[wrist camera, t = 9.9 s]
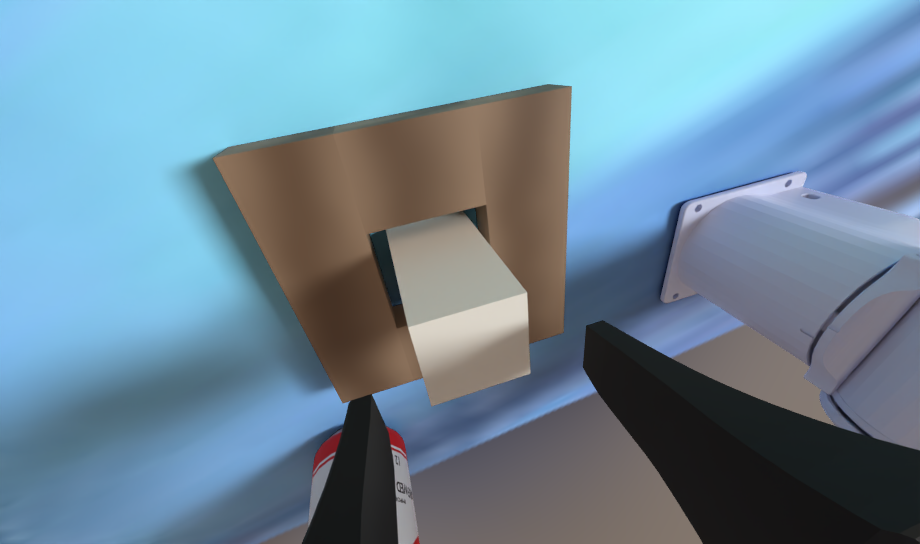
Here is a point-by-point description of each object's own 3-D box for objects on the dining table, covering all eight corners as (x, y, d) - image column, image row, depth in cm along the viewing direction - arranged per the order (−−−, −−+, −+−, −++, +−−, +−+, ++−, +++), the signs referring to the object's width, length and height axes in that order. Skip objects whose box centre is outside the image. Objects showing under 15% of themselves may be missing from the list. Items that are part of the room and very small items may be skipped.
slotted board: (548, 84, 16) (571, 86, 14) (548, 314, 23) (563, 332, 22) (228, 146, 14) (212, 158, 12) (343, 377, 21) (342, 403, 20)
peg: (460, 208, 18) (527, 292, 11) (470, 271, 20) (530, 373, 13) (384, 226, 17) (408, 327, 11) (403, 290, 19) (431, 406, 13)
